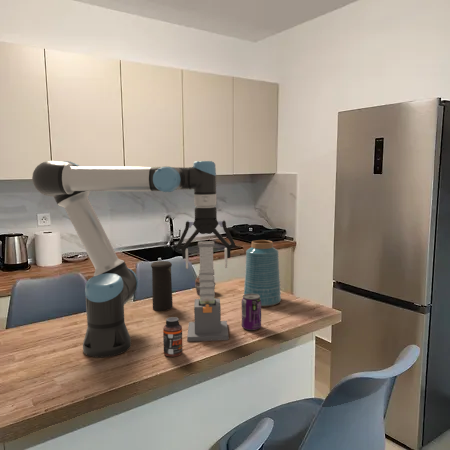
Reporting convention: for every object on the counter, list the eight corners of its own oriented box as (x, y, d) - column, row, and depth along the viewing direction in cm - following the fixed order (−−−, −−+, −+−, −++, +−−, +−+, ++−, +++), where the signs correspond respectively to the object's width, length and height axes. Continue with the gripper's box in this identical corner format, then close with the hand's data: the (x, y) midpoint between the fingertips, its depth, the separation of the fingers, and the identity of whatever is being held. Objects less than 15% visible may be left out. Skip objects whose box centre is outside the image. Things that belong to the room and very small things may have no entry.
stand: (187, 341, 137) (186, 307, 136) (189, 325, 151) (188, 294, 149) (228, 340, 138) (228, 306, 136) (226, 324, 152) (226, 293, 150)
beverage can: (260, 332, 144) (259, 299, 143) (240, 330, 146) (240, 298, 144) (262, 324, 151) (262, 293, 150) (243, 323, 152) (243, 292, 151)
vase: (283, 307, 170) (283, 244, 166) (244, 307, 170) (243, 245, 167) (278, 295, 186) (278, 238, 183) (243, 296, 186) (242, 238, 183)
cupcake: (193, 296, 187) (192, 275, 186) (197, 290, 196) (197, 270, 195) (213, 297, 185) (213, 275, 184) (217, 291, 195) (217, 270, 194)
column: (199, 309, 140) (197, 244, 137) (199, 304, 146) (198, 241, 143) (215, 309, 140) (214, 243, 138) (215, 304, 146) (214, 241, 143)
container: (177, 306, 173) (176, 260, 170) (163, 313, 165) (161, 265, 163) (162, 303, 177) (160, 258, 175) (147, 309, 170) (145, 262, 167)
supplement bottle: (174, 359, 124) (173, 323, 122) (159, 355, 127) (158, 320, 126) (186, 352, 129) (185, 317, 127) (171, 347, 132) (170, 314, 131)
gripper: (167, 208, 134) (169, 270, 137) (242, 207, 135) (243, 269, 138) (169, 206, 142) (171, 265, 144) (240, 205, 143) (241, 264, 146)
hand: (206, 267), depth 141 cm, fingers open, 13 cm apart
